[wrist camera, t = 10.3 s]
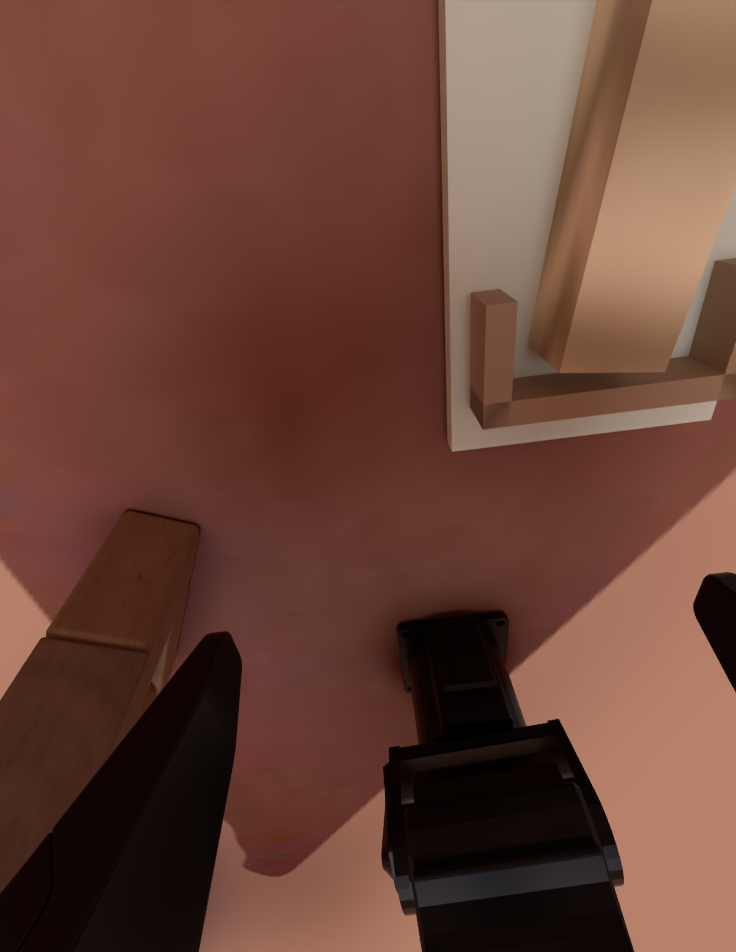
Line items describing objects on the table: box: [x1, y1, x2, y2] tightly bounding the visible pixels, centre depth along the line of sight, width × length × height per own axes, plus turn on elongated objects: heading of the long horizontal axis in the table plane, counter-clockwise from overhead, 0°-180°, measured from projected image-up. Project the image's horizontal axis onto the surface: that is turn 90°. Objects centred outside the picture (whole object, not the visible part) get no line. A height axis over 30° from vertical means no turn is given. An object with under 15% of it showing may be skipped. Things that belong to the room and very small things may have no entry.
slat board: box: [438, 0, 736, 452], centre depth 13 cm, size 22×11×3 cm, turn 7°
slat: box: [527, 0, 736, 373], centre depth 12 cm, size 14×4×3 cm, turn 179°
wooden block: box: [0, 511, 199, 892], centre depth 17 cm, size 4×11×18 cm, turn 161°
